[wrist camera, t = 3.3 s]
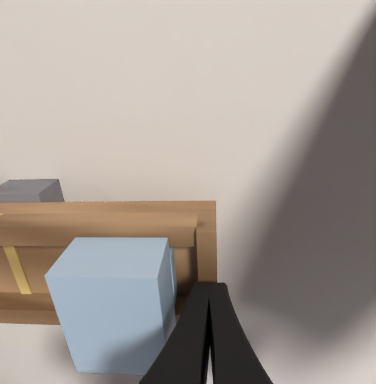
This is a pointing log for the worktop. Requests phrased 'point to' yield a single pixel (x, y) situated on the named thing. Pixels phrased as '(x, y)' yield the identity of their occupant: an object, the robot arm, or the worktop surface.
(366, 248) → the worktop surface
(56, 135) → the worktop surface
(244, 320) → the worktop surface
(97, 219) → the wooden tray
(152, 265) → the block
